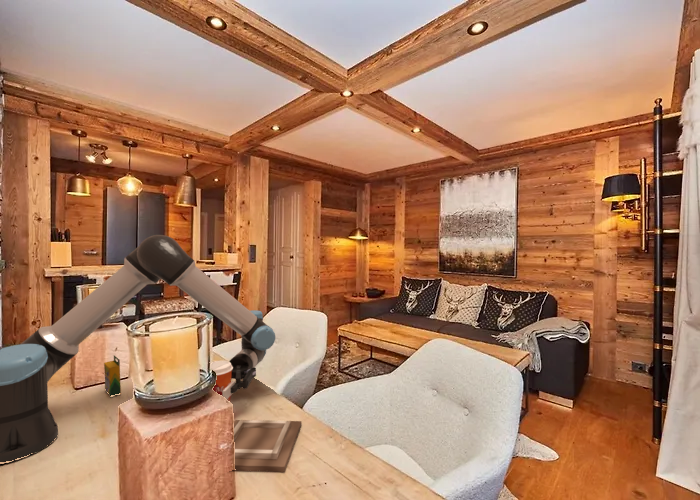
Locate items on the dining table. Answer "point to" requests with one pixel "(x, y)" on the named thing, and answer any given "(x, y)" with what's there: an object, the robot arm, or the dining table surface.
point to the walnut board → (264, 444)
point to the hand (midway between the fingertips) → (209, 395)
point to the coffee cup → (222, 375)
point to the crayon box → (112, 376)
